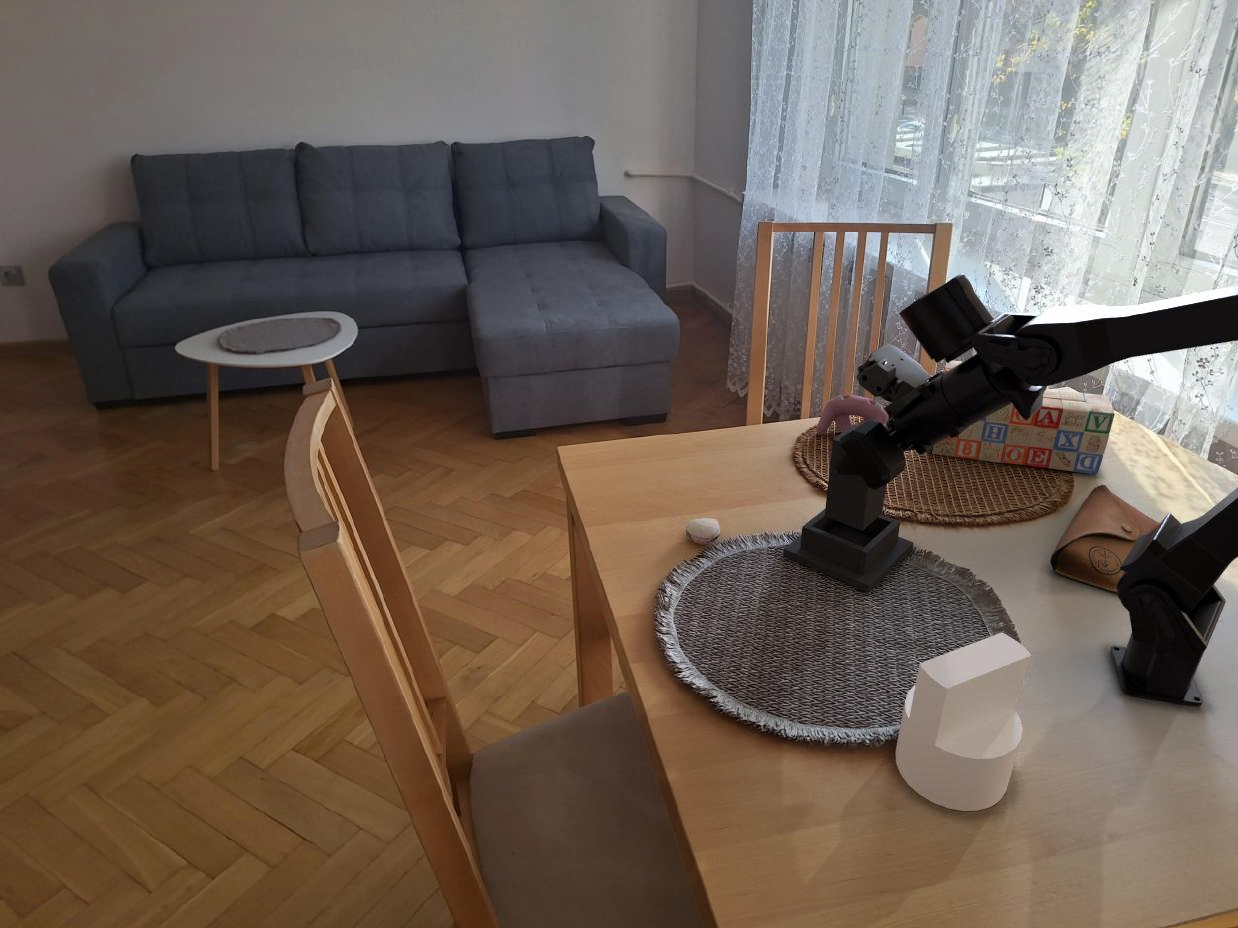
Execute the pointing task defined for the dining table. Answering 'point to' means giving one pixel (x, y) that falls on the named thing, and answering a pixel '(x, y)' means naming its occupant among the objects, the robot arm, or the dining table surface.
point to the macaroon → (703, 530)
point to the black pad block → (851, 494)
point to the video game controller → (850, 412)
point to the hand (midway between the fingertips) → (848, 461)
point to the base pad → (850, 549)
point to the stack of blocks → (1039, 433)
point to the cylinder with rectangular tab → (964, 724)
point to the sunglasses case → (1100, 540)
